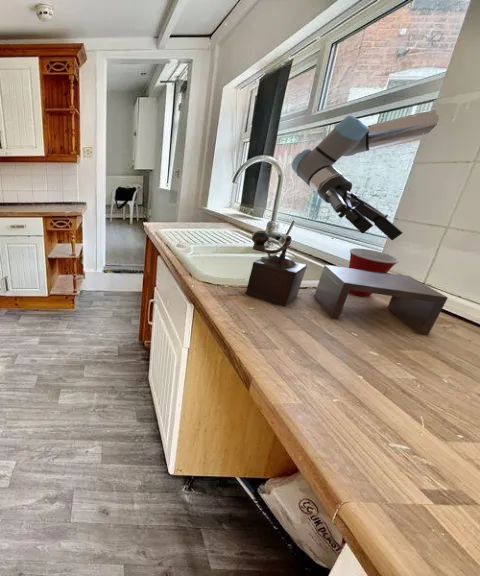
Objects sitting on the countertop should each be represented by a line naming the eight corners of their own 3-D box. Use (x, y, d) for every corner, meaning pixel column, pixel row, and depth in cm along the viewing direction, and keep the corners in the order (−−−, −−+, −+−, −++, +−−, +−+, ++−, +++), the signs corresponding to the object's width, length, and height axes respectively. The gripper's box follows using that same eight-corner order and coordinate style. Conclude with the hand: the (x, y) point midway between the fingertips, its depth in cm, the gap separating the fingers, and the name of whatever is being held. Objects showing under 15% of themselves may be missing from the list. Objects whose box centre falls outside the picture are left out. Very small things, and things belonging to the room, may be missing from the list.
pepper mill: (255, 285, 90) (272, 224, 84) (297, 297, 83) (319, 231, 76) (233, 298, 80) (249, 230, 74) (279, 313, 73) (301, 239, 66)
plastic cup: (363, 302, 82) (380, 259, 78) (326, 287, 92) (340, 248, 87) (392, 300, 85) (411, 258, 80) (354, 285, 94) (369, 247, 90)
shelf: (394, 308, 79) (409, 275, 76) (428, 335, 66) (448, 297, 63) (314, 295, 85) (324, 264, 82) (330, 318, 72) (344, 282, 69)
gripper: (344, 203, 100) (394, 248, 87) (293, 188, 91) (340, 237, 78) (366, 183, 95) (423, 228, 82) (314, 165, 85) (368, 213, 73)
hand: (382, 233), depth 80 cm, fingers open, 13 cm apart
